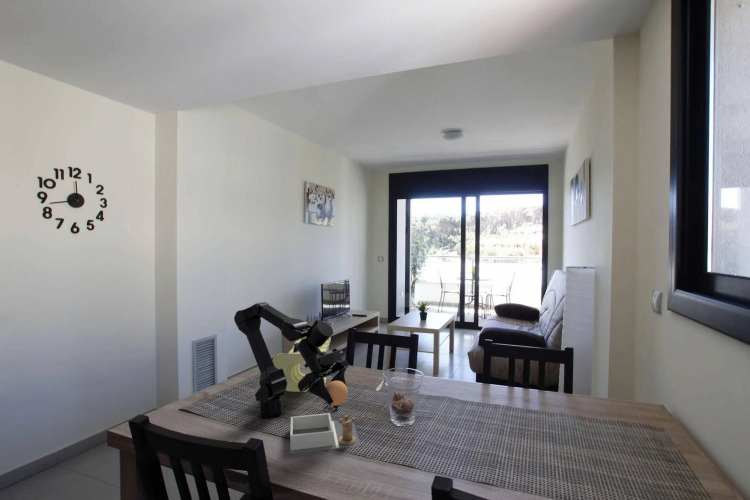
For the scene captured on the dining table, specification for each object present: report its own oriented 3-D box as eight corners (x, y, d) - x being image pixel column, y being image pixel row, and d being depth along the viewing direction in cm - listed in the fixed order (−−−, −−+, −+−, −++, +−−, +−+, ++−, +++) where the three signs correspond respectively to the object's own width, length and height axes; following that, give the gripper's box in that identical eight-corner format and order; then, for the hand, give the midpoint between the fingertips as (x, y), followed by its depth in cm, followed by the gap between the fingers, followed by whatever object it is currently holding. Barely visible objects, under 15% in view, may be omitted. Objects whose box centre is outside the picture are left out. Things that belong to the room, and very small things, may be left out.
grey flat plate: (289, 456, 102) (289, 453, 102) (290, 427, 119) (290, 425, 119) (361, 447, 107) (361, 445, 107) (352, 420, 123) (352, 418, 123)
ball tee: (339, 446, 106) (339, 423, 106) (338, 437, 111) (337, 415, 111) (357, 444, 107) (356, 421, 107) (354, 435, 112) (354, 414, 112)
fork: (370, 393, 147) (370, 389, 147) (386, 374, 170) (386, 370, 170) (378, 394, 146) (378, 390, 146) (393, 374, 169) (393, 370, 169)
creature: (316, 413, 132) (332, 414, 127) (314, 397, 132) (330, 398, 128) (331, 405, 138) (347, 406, 133) (329, 391, 139) (345, 391, 134)
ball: (325, 410, 107) (325, 386, 107) (323, 400, 114) (323, 377, 114) (349, 408, 109) (349, 385, 109) (346, 398, 116) (346, 376, 116)
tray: (290, 450, 104) (290, 436, 104) (291, 429, 116) (290, 416, 116) (333, 445, 107) (333, 431, 107) (329, 425, 119) (329, 413, 119)
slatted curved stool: (296, 373, 171) (296, 334, 171) (330, 374, 169) (330, 335, 169) (272, 399, 141) (272, 352, 141) (313, 401, 140) (313, 353, 139)
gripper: (305, 347, 106) (334, 394, 100) (345, 334, 121) (372, 374, 115) (285, 369, 110) (312, 415, 104) (326, 354, 126) (352, 393, 120)
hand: (339, 398), depth 111 cm, fingers closed on ball, 7 cm apart
